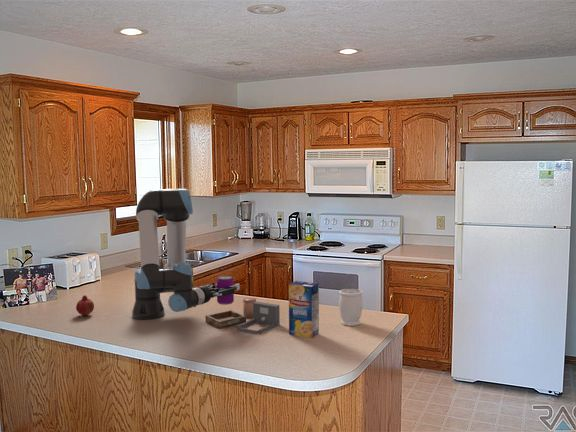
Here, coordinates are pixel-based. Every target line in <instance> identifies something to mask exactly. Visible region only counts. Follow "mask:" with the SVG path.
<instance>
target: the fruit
mask: <svg viewBox="0 0 576 432" xmlns="http://www.w3.org/2000/svg"><path fill="white" fill-rule="evenodd" d="M75 309H76V311H77V312H78V314H80V315H81V316H83V317H84V316H88V315H90V314H91V313H93V311H94V309H95V303H94V302H93V300H92V299H90V298H88V296H87V295H83V296H82V297H81V299H79V300H78V301H77V303H76V306H75Z"/></svg>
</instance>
